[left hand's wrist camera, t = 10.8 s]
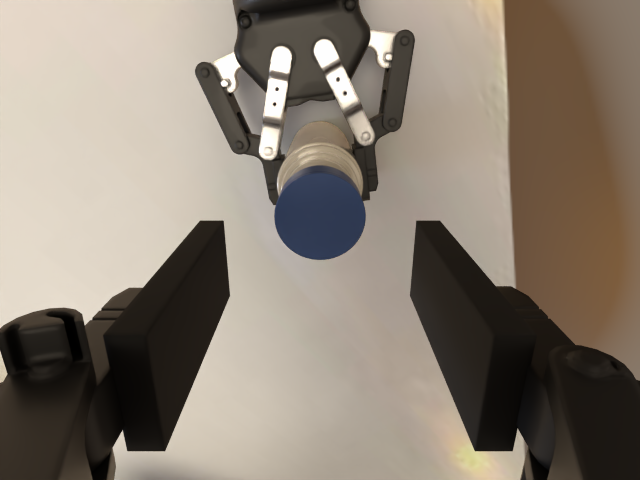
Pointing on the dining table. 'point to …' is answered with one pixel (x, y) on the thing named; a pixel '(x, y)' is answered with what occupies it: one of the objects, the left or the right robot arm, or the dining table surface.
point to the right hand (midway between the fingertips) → (325, 202)
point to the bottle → (320, 153)
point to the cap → (320, 213)
